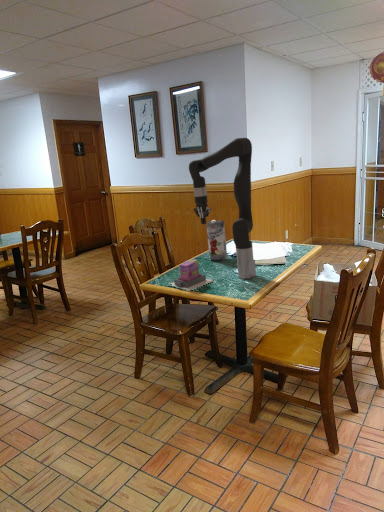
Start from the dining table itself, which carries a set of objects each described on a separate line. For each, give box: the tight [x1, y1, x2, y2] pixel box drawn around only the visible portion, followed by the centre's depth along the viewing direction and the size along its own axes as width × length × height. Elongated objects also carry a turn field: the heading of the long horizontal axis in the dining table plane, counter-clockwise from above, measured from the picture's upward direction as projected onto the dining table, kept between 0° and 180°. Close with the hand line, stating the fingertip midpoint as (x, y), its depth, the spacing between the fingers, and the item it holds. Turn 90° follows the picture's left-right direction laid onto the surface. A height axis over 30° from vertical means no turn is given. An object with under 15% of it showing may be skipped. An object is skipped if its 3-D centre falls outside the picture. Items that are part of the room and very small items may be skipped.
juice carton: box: [205, 219, 228, 262], centre depth 259 cm, size 9×10×27 cm
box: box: [178, 259, 200, 282], centre depth 220 cm, size 10×6×12 cm, turn 144°
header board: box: [170, 273, 214, 290], centre depth 222 cm, size 18×18×4 cm
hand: (203, 224), depth 235 cm, fingers closed
